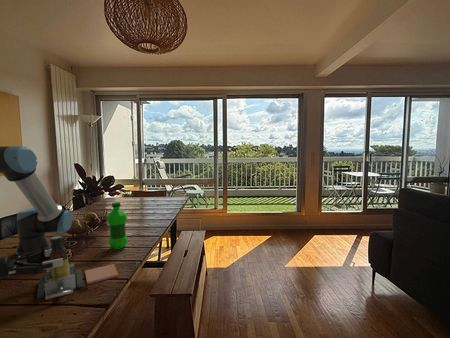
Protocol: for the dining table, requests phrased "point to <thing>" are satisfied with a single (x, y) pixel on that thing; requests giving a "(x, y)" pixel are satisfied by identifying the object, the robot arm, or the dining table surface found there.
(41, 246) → the robot arm
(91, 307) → the dining table surface
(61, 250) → the sauce bottle
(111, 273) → the terracotta tile
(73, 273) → the dark grey square frame
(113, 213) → the plastic bottle
